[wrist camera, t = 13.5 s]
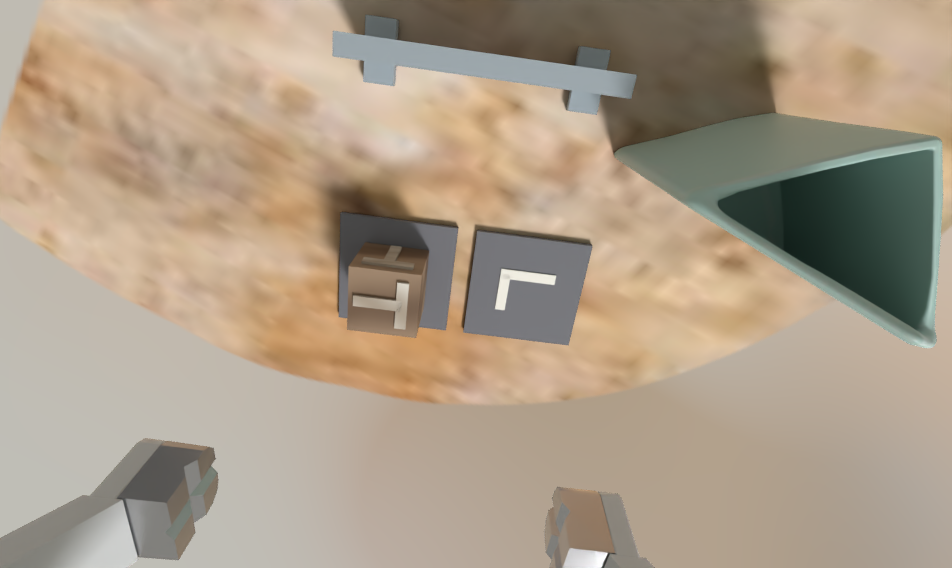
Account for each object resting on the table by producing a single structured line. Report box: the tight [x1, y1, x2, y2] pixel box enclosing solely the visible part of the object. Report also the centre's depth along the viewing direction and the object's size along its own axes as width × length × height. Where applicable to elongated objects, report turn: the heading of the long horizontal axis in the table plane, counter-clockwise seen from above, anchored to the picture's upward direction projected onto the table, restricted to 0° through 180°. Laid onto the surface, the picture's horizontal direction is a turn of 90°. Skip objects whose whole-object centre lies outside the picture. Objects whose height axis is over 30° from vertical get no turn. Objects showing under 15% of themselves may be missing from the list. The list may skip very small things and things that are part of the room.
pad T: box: [339, 212, 458, 330], centre depth 39 cm, size 9×9×1 cm
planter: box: [614, 113, 943, 348], centre depth 26 cm, size 16×8×20 cm, turn 61°
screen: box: [333, 15, 637, 115], centre depth 29 cm, size 4×16×8 cm, turn 83°
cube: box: [347, 242, 429, 338], centre depth 36 cm, size 5×5×5 cm
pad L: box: [464, 230, 592, 345], centre depth 39 cm, size 9×9×1 cm
